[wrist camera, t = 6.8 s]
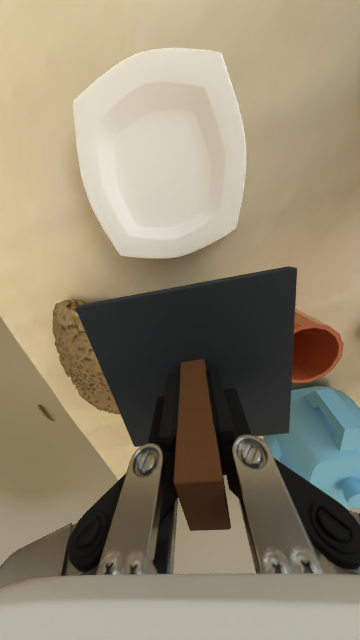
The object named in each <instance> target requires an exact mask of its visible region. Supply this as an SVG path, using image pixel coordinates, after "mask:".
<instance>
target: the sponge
mask: <svg viewBox="0 0 360 640" xmlns="http://www.w3.org/2000/svg"><path fill="white" fill-rule="evenodd" d="M88 303H91V302H88ZM83 304H87V303H85V302H84V301H80V300H64V301H62V302H60V303H57V304H56V305H55V308H54V310H53V316H54V317H53V333H54V336H55V339H56V340H55V341H56V343H55V345H56V348H57V351H58V353H59V354H60V356H59V358H60V362H61V364H62V366H63V368H64V370H65V372H66V374H67V376H68V377H69V376H70V377H71V380H72V382H73V384H74V385H76V387H75V388H76V389H77V390H78V392H79V395H80V396H81V397H82V398H83V399H85V400H86V401H87V402H89V403H90V404H92V405H93V406H94V407H96V408H97V409H99V410H100V411H101V410H103V411H107V412H108V413H115V414H120V411H119V409H118V407H117V404H116V402H115V400H114V397H113V395H112V393H111V390H110V388H109V386H108V383H107V381H106V379H105V376H104V374H103V372H102V369H101V367H100V365H99V362H98V360H97V358H96V355H95V353H94V351H93V348H92V346H91V344H90V341H89V339H88V337H87V334H86V332H85V330H84V327H83V325H82V323H81V320H80V318H79V316H78V313H77V311H76V308H77V307H79V306H81V305H83Z"/></svg>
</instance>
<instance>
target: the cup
mask: <svg viewBox="0 0 360 640" xmlns="http://www.w3.org/2000/svg"><path fill="white" fill-rule="evenodd" d="M342 351H343V342H342V339H341V337H340V334H339V333H338V332H336V331H335V330H334V329H333V328H331V327H330V326H328V325H326V324H324V323H322V322H320V321H318V320H316V319H315V318H313V317H311V316H309V315H307V314H305V313H303V312H301V311H299V310H297V309H295V320H294V341H293V362H292V382H293V383H306V382H312V381H314V380H316V379H319V378H321V377H323V376H325V375H326V374H327V373H329V372H330V371H331V370H332V369H333V368H334V367H335V366H336V365H337V363H338V362H339V360H340V358H341V356H342Z"/></svg>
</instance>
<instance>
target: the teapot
mask: <svg viewBox="0 0 360 640" xmlns="http://www.w3.org/2000/svg"><path fill="white" fill-rule="evenodd" d="M263 441H264V442H265V443H266V444H267V446H268V448H269V449H270V451H271V454H272V456H273V457H274V458H275V459H276V460H278V459H279V460H280V462H281V463H282V464H284V465H285V466H287V467H288V468H290V469H291V470H293V471H294V472H295V473H297V474H298V475H300V476H301V477H303V478H304V479H306V480H307V481H309V482H310V483H312V484H313V485H314V486H316V487H317V488H319V489H320V490H322V491H323V492H325V493H326V494H328V495H329V496H331V497H332V498H333V499H335V500H336V501H338V502H339V503H340V504H342V505H343V506H344V507H345V508H346V509H347V510H348V507H352V508H357V509H360V408H359V407H358V406H357V405H356V404H355V402H354V401H353V400H352V399H351V398H349V397H348V396H347V395H346V394H344V393H343V392H341V391H339V390H336V389H333V388H330V387H325V386H322V387H321V386H313V387H310V388H302V389H296V390H291V404H290V425H289V433H287V434H275V435H265V436H264V438H263Z"/></svg>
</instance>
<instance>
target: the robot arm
mask: <svg viewBox="0 0 360 640" xmlns="http://www.w3.org/2000/svg"><path fill="white" fill-rule="evenodd" d="M180 377H181V375H180V374H178V372H171V373H168V378H167V384H166V391H165V396H163V397H158V398H157V401H156V405H155V410H154V415H153V420H152V425H151V430H150V435H149V439H148V444H144V445H142V446H141V447H139V448H138V449H137V450H136V451H135V453H134V454H133V455H132V458H131V460H130V463H129V466H128V470H127V473H126V474H125V475H124V476H123V477H122V478H121V479H120V480H119V481H118V482H117V483H116V484H115V485H114V486H113V487H112V488H111V489H109V491H108V492H106V494H104V495H103V496H102V497H101V498H100V499H99V500H98V501H97V503H95V504H94V505H93V506H92V507H91V508H90V509H89V510H88V511H87V512H86V513H85V514H84V515H83V517H82V518H81V519H80V520H79V521H78V523H76V524H74V525H72V523H70V524H68V525H66V526H64V527H62V528H60V529H58V530H56V531H55V532H52V533H50V534H49V535H46V536H44V537H42V538H41V539H38V540H37V541H34V542H32V543H30V544H28V545H27V546H24V547H22V548H21V549H19V550H17V551H16V552H14V553H13V554H12V555H10V556H9V558H7V559H6V561H5V562H4V563H3V564H2V565H1V566H0V640H360V513H359V514H358V513H355V512H352V511H349V510H347V509H346V508H345V507H344V506H343V505H342V504H340V503H339V502H338V501H336V500H335V499H333V498H332V497H331V496H329V495H328V494H326V493H325V492H323V491H322V490H320V489H319V488H317V487H316V486H314V485H313V484H312V483H310V482H309V481H307V480H306V479H304V478H303V477H301V476H300V475H298V474H297V473H295V472H294V471H293V470H291V469H290V468H288V467H287V466H285V465H284V464H282V463H281V462H279V461H278V460H276V459H275V458H274V457H273V456H272V454H271V451H270V449H269V448H268V446H267V444H266V443H265V442H264V441H263V440H262V439H260V438H258V437H257V436H254V435H252V434H251V431H250V428H249V425H248V422H247V419H246V416H245V413H244V411H243V408H242V405H241V402H240V399H239V396H238V393H237V390H236V388H230V389H223V385H222V381H221V377H220V373H219V370H218V366H216V367H209V370H206V377H207V384H208V391H209V398H210V405H211V412H212V419H213V425H214V428H215V432H216V438H217V444H218V449H219V455H220V461H221V467H222V473H223V475H227V480H228V484H229V489H230V490H231V491H232V492H233V493H234V494H235V495H236V496H237V497H238V498H239V503H240V507H241V511H242V515H243V520H244V524H245V528H246V533H247V537H248V541H249V546H250V550H251V554H252V559H253V563H254V567H255V571H256V574H173V567H174V552H175V535H176V522H177V506H178V494H177V491H176V488H175V486H174V482H173V480H174V464H175V447H176V433H177V428H178V411H179V394H180Z"/></svg>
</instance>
